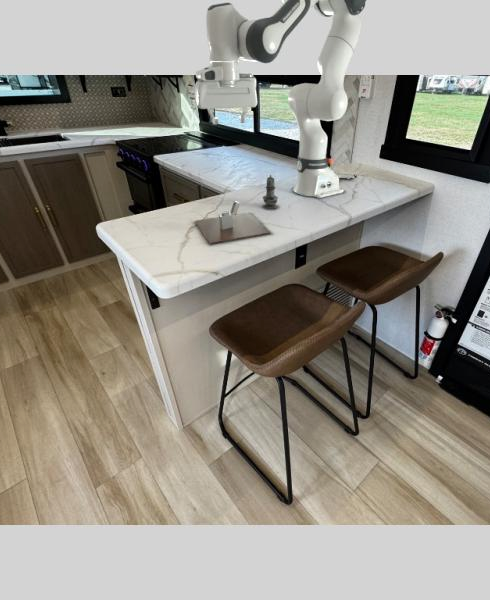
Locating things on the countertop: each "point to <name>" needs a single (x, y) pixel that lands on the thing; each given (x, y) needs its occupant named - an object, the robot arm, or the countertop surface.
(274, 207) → the tarnished pewter finial
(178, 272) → the countertop surface
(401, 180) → the countertop surface
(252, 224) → the walnut board
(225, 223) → the lighter
